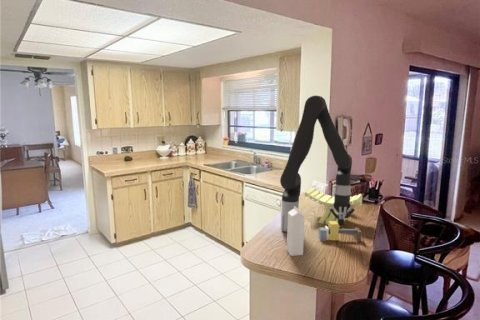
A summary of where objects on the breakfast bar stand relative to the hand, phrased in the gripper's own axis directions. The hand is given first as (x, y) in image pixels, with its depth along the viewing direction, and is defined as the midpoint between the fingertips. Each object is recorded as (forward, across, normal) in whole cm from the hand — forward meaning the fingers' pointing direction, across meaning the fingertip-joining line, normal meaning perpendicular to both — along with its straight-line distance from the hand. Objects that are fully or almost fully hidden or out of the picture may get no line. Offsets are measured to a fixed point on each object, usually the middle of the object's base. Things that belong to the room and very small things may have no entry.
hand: (340, 225), depth 155 cm
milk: (+8, -26, -16) cm, 31 cm away
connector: (+7, -9, 0) cm, 12 cm away
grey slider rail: (+4, 0, 0) cm, 4 cm away
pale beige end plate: (+5, -7, 0) cm, 9 cm away
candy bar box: (+8, +13, +49) cm, 51 cm away
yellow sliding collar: (+8, -4, 0) cm, 8 cm away
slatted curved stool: (+8, +3, +28) cm, 29 cm away
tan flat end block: (+8, +9, 0) cm, 12 cm away
